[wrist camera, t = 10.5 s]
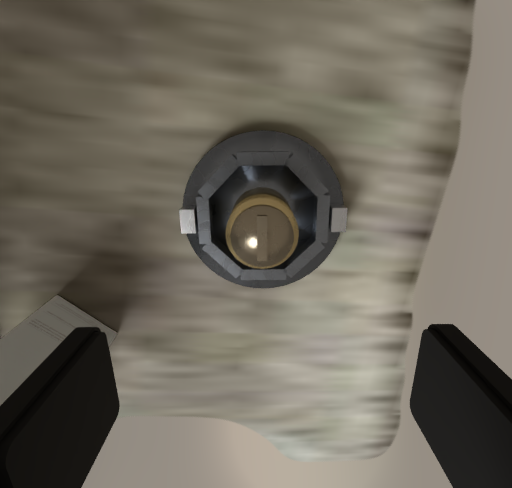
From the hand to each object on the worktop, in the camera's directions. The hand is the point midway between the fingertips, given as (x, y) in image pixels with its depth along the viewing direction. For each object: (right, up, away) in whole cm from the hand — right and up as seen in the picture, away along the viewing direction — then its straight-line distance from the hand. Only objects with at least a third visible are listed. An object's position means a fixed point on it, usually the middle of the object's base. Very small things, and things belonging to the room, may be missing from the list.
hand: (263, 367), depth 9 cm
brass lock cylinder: (0, +6, +18) cm, 19 cm away
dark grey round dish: (0, +6, +19) cm, 20 cm away
